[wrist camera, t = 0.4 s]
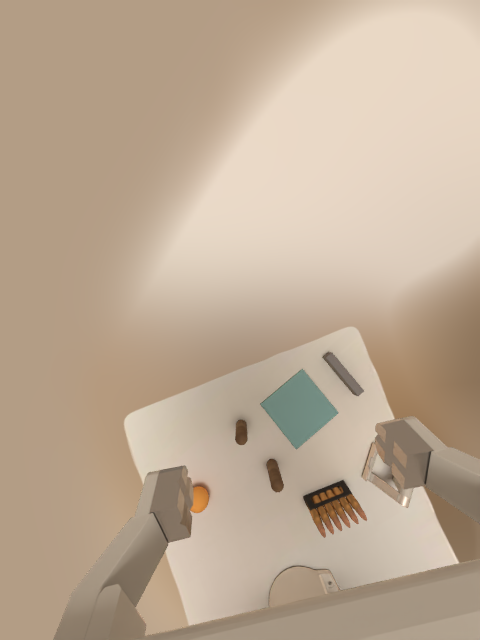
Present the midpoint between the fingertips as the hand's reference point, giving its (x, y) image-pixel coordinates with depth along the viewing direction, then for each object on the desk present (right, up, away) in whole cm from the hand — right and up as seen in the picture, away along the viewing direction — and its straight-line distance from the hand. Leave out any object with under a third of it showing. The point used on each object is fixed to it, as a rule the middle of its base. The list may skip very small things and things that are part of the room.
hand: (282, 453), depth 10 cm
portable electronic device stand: (+33, -30, +50) cm, 67 cm away
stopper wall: (+24, -8, +52) cm, 58 cm away
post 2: (+6, -30, +50) cm, 58 cm away
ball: (-12, -37, +47) cm, 60 cm away
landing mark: (+13, -17, +51) cm, 55 cm away
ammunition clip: (+19, -37, +49) cm, 64 cm away
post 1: (-1, -21, +51) cm, 55 cm away
